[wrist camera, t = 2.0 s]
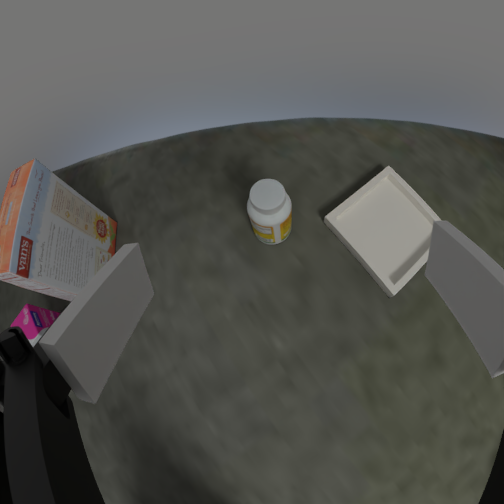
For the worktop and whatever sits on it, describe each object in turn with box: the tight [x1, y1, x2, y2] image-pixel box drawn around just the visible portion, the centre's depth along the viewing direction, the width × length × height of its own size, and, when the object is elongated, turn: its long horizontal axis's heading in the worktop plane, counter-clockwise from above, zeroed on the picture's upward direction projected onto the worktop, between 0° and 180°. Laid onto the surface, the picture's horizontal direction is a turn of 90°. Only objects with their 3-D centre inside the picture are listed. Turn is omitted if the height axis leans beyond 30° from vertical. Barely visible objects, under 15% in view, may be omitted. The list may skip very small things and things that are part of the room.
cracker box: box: [0, 159, 117, 301], centre depth 32 cm, size 14×6×21 cm, turn 5°
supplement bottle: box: [247, 179, 291, 244], centre depth 36 cm, size 5×5×10 cm
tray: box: [324, 166, 442, 298], centre depth 37 cm, size 14×14×2 cm
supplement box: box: [11, 304, 60, 347], centre depth 34 cm, size 6×6×12 cm
